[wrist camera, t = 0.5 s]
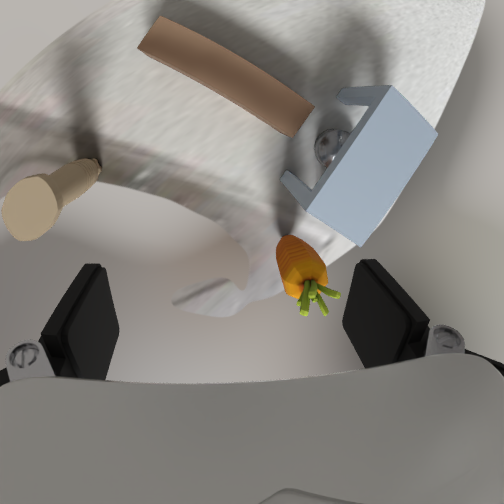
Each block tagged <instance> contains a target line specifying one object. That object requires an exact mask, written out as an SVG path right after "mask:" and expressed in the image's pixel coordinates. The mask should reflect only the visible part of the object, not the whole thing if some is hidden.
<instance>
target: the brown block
mask: <svg viewBox="0 0 504 504" xmlns="http://www.w3.org/2000/svg"><path fill="white" fill-rule="evenodd" d="M137 49H139V50H140V51H142V52H143V53H144V54H146V55H147V56H149V57H150V58H153V59H155V60H157V61H159V62H161V63H163V64H165V65H167V66H169V67H171V68H173V69H174V70H176V71H178V72H180V73H182V74H184V75H186V76H188V77H190V78H191V79H193V80H195V81H197V82H199V83H200V84H202V85H204V86H206V87H208V88H209V89H211V90H213V91H215V92H216V93H218V94H220V95H221V96H223V97H225V98H227V99H228V100H230V101H232V102H233V103H235V104H236V105H238V106H240V107H241V108H243V109H245V110H246V111H248V112H249V113H251V114H253V115H254V116H256V117H257V118H259V119H260V120H262V121H263V122H265V123H266V124H268V125H270V126H271V127H273V128H274V129H276V130H277V131H278V132H280V133H282V134H284V135H287V136H289V137H291V138H293V137H294V135H295V134H296V133H297V131H298V130H299V128H300V127H301V126H302V124H303V123H304V121H305V120H306V119H307V117H308V116H309V114H310V113H311V112H312V110H313V109H314V107H315V106H313V105H312V104H311V103H309V102H308V101H307V100H305V99H304V98H303V97H301V96H300V95H298V94H297V93H296V92H294V91H293V90H291V89H290V88H288V87H287V86H285V85H284V84H283V83H281V82H280V81H278V80H277V79H275V78H274V77H272V76H271V75H269V74H267V73H266V72H264V71H263V70H261V69H260V68H258V67H256V66H255V65H253V64H252V63H250V62H248V61H247V60H245V59H243V58H242V57H240V56H238V55H237V54H235V53H233V52H231V51H230V50H228V49H226V48H224V47H223V46H221V45H219V44H217V43H215V42H213V41H212V40H210V39H208V38H206V37H204V36H202V35H200V34H198V33H196V32H194V31H192V30H190V29H188V28H186V27H184V26H182V25H180V24H178V23H176V22H173V21H171V20H169V19H167V18H165V17H162V16H159V18H158V19H157V20H156V22H155V23H154V24H153V26H152V27H151V28H150V30H149V31H148V33H147V34H146V36H145V37H144V38H143V40H142V41H141V43H140V44H139V46H138V47H137Z"/></svg>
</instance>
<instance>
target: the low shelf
mask: <svg viewBox="0 0 504 504" xmlns="http://www.w3.org/2000/svg"><path fill="white" fill-rule="evenodd" d="M336 98H337V99H339V100H340V101H341V102H343V103H344V104H345V105H362V106H369V108H368V109H367V111H366V112H365V114H364V115H363V117H362V118H361V120H360V121H359V123H358V124H357V126H356V127H355V129H354V130H353V131H352V133H351V134H350V136H349V137H348V139H347V140H346V142H345V143H344V145H343V146H342V148H341V149H340V150H339V152H338V153H337V155H336V156H335V158H334V159H333V161H332V162H331V164H330V165H329V166H328V168H327V169H326V171H325V172H324V174H323V175H322V177H321V178H320V179H319V181H318V182H317V184H316V185H315V187H314V188H313V190H311V189H310V188H309V187H308V186H307V185H306V184H305V183H304V182H302V181H301V180H300V179H299V178H298V177H297V176H296V175H294V174H292V173H291V172H289V171H288V170H286V171H285V173H284V174H283V175H282V177H281V178H280V181H281V182H282V183H283V184H284V186H285V187H286V188H287V189H288V190H289V192H290V193H291V194H292V195H293V196H294V198H295V199H296V200H297V201H298V202H299V204H300V205H301V206H302V207H303V208H304V210H305V211H306V212H308V213H309V214H311V215H313V216H314V217H316V218H317V219H319V220H320V221H322V222H323V223H325V224H326V225H328V226H330V227H331V228H333V229H334V230H336V231H337V232H339V233H340V234H342V235H343V236H345V237H346V238H348V239H349V240H351V241H352V242H354V243H355V244H357V245H358V246H360V247H362V245H363V244H364V243H365V241H366V240H367V239H368V237H369V236H370V235H371V233H372V232H373V230H374V229H375V228H376V226H377V225H378V224H379V222H380V221H381V220H382V218H383V217H384V215H385V214H386V213H387V211H388V210H389V208H390V207H391V205H392V204H393V203H394V201H395V200H396V198H397V197H398V195H399V194H400V193H401V191H402V190H403V188H404V187H405V185H406V184H407V182H408V181H409V179H410V178H411V176H412V175H413V173H414V172H415V170H416V169H417V167H418V166H419V164H420V163H421V161H422V159H423V158H424V156H425V155H426V153H427V152H428V150H429V148H430V147H431V145H432V144H433V142H434V140H435V139H436V137H437V135H438V133H437V132H436V131H435V130H434V129H433V127H432V126H431V125H430V124H429V123H428V122H427V121H426V120H425V118H424V117H423V116H422V115H421V114H420V113H419V112H418V111H417V110H416V109H415V108H414V107H413V106H412V105H411V104H410V103H409V101H408V100H407V99H406V98H405V97H404V96H403V95H402V94H401V93H400V92H398V91H397V90H396V89H395V88H394V87H393V86H392V85H384V86H365V87H351V88H342V89H341V91H340V92H339V94H338V95H337V97H336Z"/></svg>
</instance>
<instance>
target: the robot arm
mask: <svg viewBox="0 0 504 504" xmlns="http://www.w3.org/2000/svg"><path fill="white" fill-rule="evenodd" d="M429 321H430V319H429V318H428V317H427V316H426V314H425V313H424V312H423V311H422V310H421V309H420V307H419V306H418V305H417V304H416V303H415V302H414V301H413V299H412V298H411V297H410V296H409V295H408V294H407V293H406V292H405V290H404V289H403V288H402V287H401V286H400V285H399V284H398V283H397V282H396V280H395V279H394V278H393V277H392V276H391V275H390V274H389V273H388V272H387V271H386V270H385V269H384V268H383V266H382V265H381V264H380V263H379V262H378V261H377V260H375V259H362V260H361V261H360V262H359V263H357V264H356V266H355V270H354V274H353V279H352V283H351V287H350V292H349V295H348V299H347V304H346V307H345V311H344V315H343V320H342V323H343V328H344V330H345V331H346V333H347V335H348V337H349V339H350V340H351V343H352V344H353V346H354V348H355V350H356V352H357V354H358V356H359V358H360V359H361V361H362V363H363V365H364V367H365V369H359V370H352V371H346V372H340V373H332V374H325V375H318V376H308V377H300V378H290V379H279V380H267V381H252V382H234V383H203V384H202V383H197V384H171V383H139V382H123V381H109V380H105V379H106V375H107V372H108V369H109V365H110V362H111V358H112V355H113V352H114V348H115V345H116V342H117V339H118V336H119V324H118V320H117V316H116V312H115V308H114V304H113V300H112V295H111V291H110V287H109V282H108V277H107V272H106V269H105V268H102V267H101V265H100V264H85V265H84V266H83V267H82V269H81V270H80V272H79V273H78V275H77V276H76V277H75V279H74V280H73V282H72V284H71V285H70V287H69V288H68V290H67V291H66V293H65V294H64V296H63V297H62V299H61V301H60V302H59V304H58V305H57V307H56V309H55V310H54V312H53V314H52V315H51V317H50V319H49V320H48V322H47V324H46V325H45V327H44V329H43V331H42V332H41V337H40V339H39V341H38V342H37V341H35V340H24V341H20V342H18V343H17V344H15V345H14V346H13V347H12V348H10V350H9V351H8V353H7V355H6V359H5V360H6V361H5V362H6V368H5V369H3V370H1V371H0V504H504V364H502V363H500V362H497V361H495V360H492V359H489V358H487V357H484V356H482V355H479V354H476V353H474V352H471V351H469V350H466V349H465V342H464V338H463V337H462V335H461V334H460V333H459V332H458V331H457V330H455V329H454V328H452V327H449V326H446V325H436V326H433V327H432V328H431V329H430V328H429V327H428V324H429Z"/></svg>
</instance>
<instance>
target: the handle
mask: <svg viewBox="0 0 504 504" xmlns="http://www.w3.org/2000/svg"><path fill="white" fill-rule="evenodd" d="M101 171H102V167H100V166H99V164H98V160H97V159H95V158H94V159H87V158H84V159H80V160H76V161H73V162H71V163H68V164H66V165H64V166H63V167H61V168H59V169H58V170H56V171H55V172H53V173H52V174H50V175H49V176H48V175H47V174H37V175H32V176H28V177H26V178H24V179H22V180H21V181H19V182H18V183H17V184H16V185H15V186H13V187H12V188H11V189H10V191H9V192H8V193H7V195H6V197H5V200H4V203H3V207H2V210H1V211H2V217H3V220H4V223H5V225H6V227H7V229H8V230H9V232H10V233H11V234H12V235H13V237H15V238H16V239H17V240H19V241H30V240H35V239H37V238H38V237H40V236H41V235H42V234H44V233H45V232H46V231H47V230H49V229H50V228H51V227H52V226H53V225H54V224H55V222H56V221H57V219H58V217H59V215H60V213H61V211H62V208H63V207H64V206H65V205H67V204H68V203H70V202H72V201H73V200H75V199H76V198H78V197H80V196H81V195H82V194H83V193H85V192H86V191H87V190H88V189H89V188H90V187H91V186H92V185H93V184H94V183H95V182H96V181H97V180H98V175H99V173H100V172H101Z"/></svg>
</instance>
